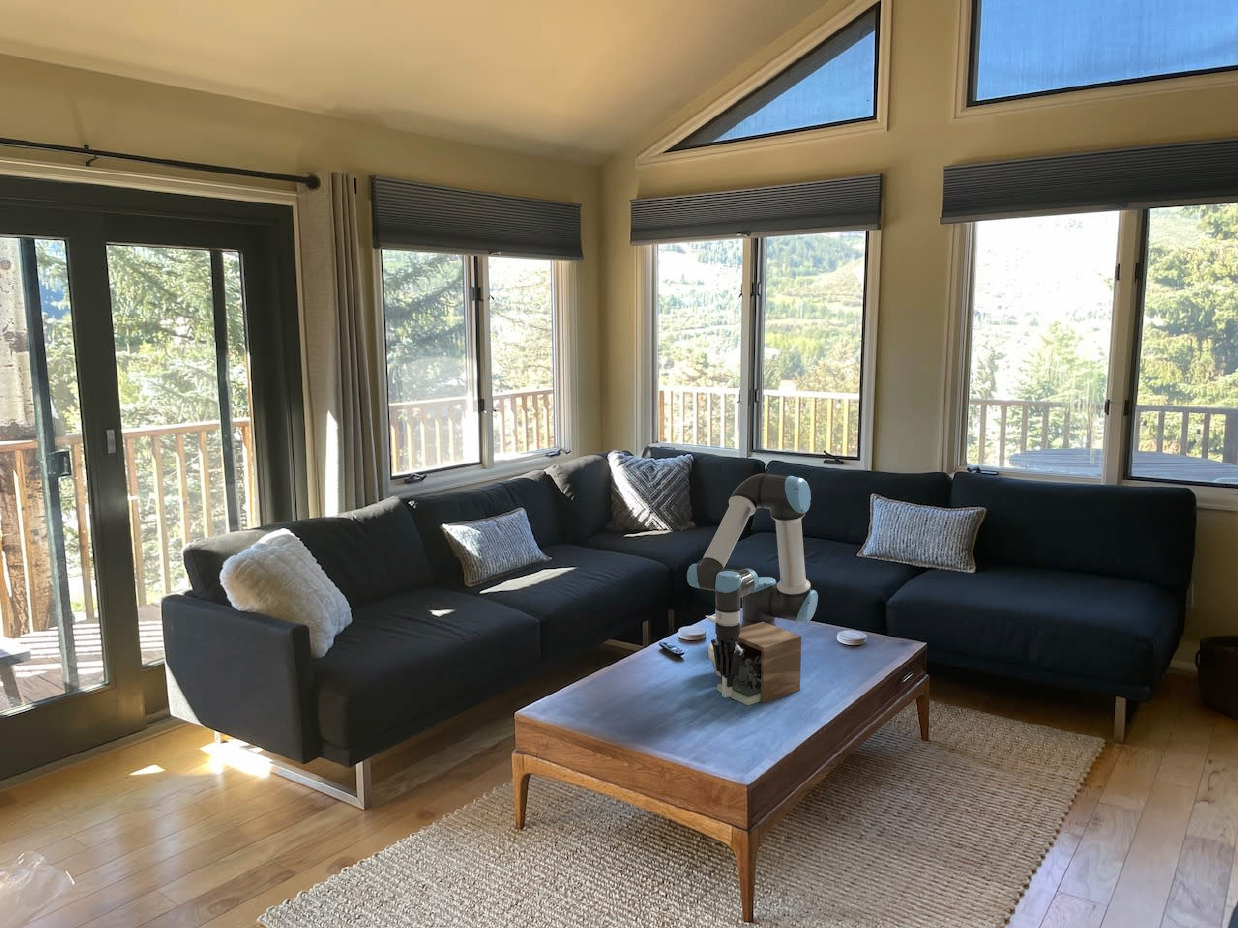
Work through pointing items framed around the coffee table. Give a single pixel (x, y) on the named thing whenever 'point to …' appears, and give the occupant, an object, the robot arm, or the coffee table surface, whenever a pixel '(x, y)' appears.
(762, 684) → the shelf
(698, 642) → the coffee table surface
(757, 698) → the tray
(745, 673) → the figurine
